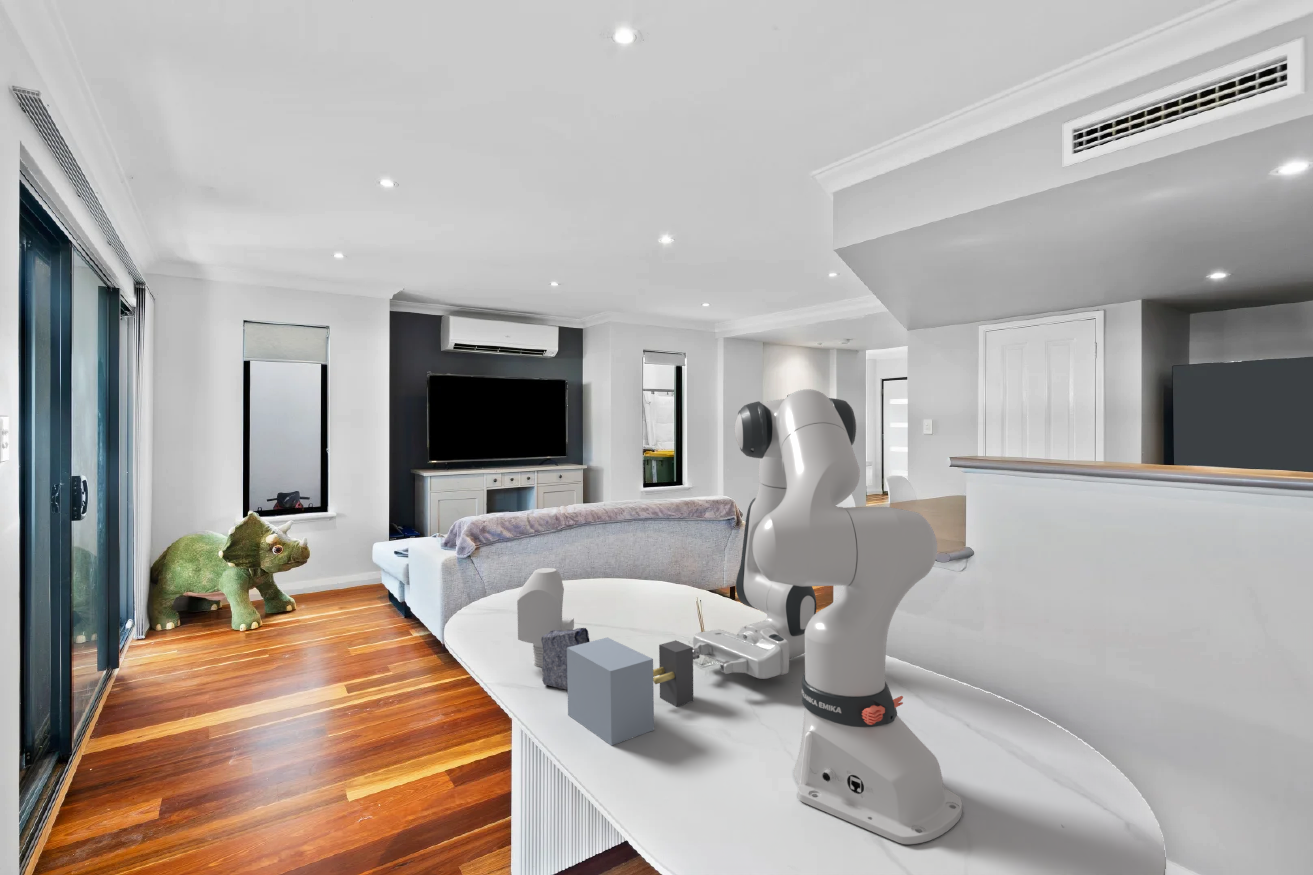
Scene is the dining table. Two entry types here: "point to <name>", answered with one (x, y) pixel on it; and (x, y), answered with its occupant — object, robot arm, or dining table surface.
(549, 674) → the stone
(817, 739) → the robot arm
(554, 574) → the light fixture
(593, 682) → the socket
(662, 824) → the dining table surface
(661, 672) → the plug
